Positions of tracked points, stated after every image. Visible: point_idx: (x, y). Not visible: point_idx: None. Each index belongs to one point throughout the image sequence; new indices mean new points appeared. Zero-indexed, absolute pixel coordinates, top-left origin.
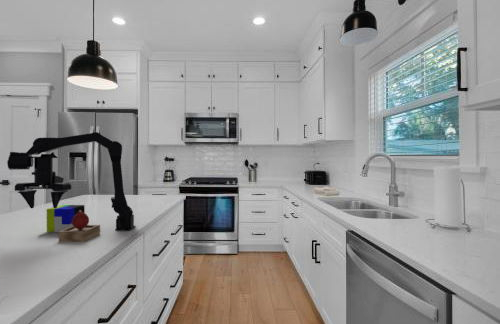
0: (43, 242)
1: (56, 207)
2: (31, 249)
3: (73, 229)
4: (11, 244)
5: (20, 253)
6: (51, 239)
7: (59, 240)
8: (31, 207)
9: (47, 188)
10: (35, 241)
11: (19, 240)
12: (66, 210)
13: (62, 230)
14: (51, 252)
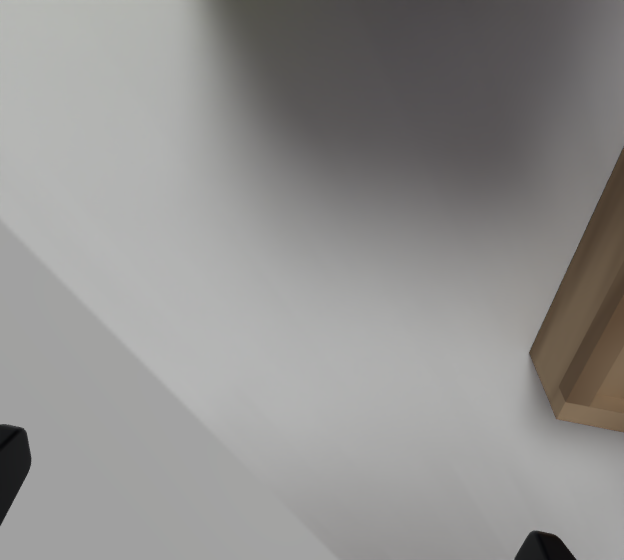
0: (405, 354)
1: (560, 550)
2: (406, 479)
3: None
4: (179, 354)
5: (381, 524)
6: (433, 283)
7: (537, 358)
8: (20, 480)
9: None
10: (318, 315)
11: (152, 261)
12: None
13: (585, 392)
14: None
